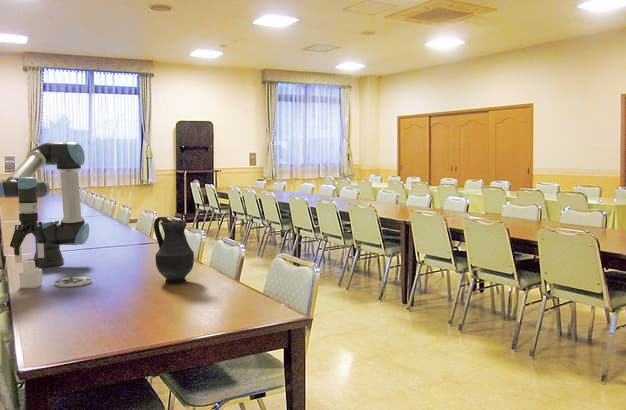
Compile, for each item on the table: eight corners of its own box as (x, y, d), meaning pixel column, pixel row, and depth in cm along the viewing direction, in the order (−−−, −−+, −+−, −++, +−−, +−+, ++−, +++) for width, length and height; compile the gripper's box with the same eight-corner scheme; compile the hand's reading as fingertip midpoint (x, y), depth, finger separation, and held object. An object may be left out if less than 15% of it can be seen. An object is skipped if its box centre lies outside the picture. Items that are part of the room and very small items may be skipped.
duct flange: (46, 286, 259) (45, 282, 259) (69, 278, 275) (69, 275, 275) (76, 288, 255) (76, 284, 255) (99, 280, 271) (99, 277, 271)
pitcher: (175, 288, 256) (173, 220, 253) (142, 282, 267) (140, 217, 264) (202, 281, 271) (201, 217, 268) (170, 275, 282) (168, 214, 279)
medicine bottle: (26, 284, 262) (25, 258, 261) (42, 284, 263) (41, 258, 262) (19, 288, 255) (18, 261, 254) (36, 288, 256) (35, 261, 255)
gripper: (14, 215, 243) (16, 265, 245) (55, 210, 267) (56, 255, 269) (-1, 214, 245) (1, 264, 246) (41, 209, 269) (42, 255, 271)
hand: (30, 260), depth 258 cm, fingers open, 13 cm apart
